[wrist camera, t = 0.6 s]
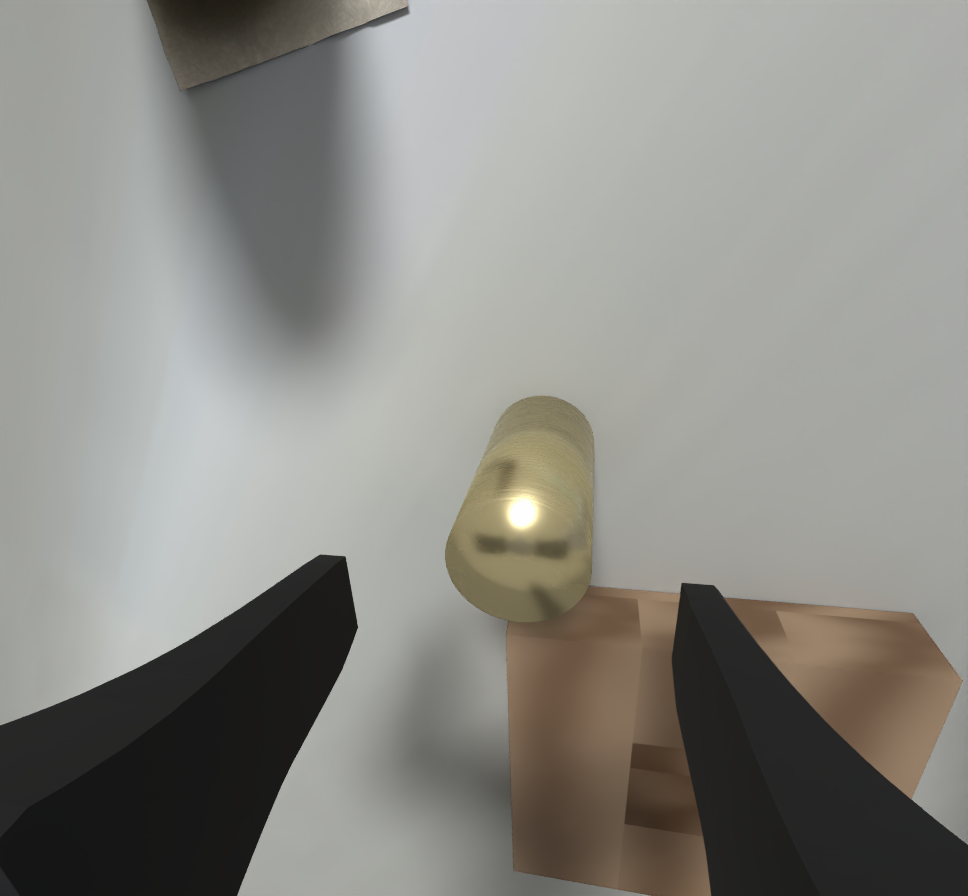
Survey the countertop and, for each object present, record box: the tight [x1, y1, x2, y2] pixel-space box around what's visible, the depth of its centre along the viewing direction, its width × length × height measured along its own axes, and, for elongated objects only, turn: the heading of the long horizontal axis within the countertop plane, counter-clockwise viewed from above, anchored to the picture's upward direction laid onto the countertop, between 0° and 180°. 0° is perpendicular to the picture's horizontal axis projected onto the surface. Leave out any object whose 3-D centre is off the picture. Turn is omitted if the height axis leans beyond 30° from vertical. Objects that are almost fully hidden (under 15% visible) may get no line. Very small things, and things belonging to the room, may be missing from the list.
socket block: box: [506, 586, 963, 896], centre depth 23 cm, size 14×14×3 cm
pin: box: [445, 396, 594, 622], centre depth 16 cm, size 4×4×7 cm
